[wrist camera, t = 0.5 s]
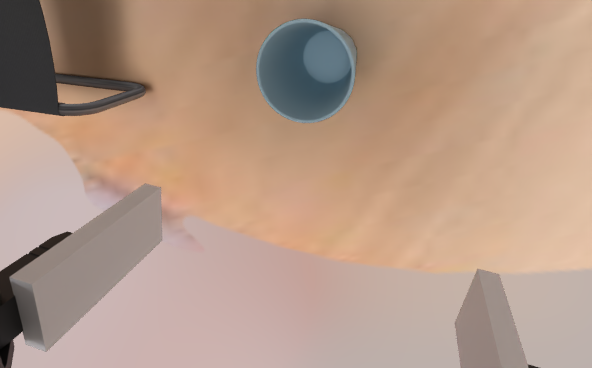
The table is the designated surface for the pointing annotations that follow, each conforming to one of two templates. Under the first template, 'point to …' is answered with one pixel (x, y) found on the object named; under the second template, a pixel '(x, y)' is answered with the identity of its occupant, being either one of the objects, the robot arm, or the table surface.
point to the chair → (43, 67)
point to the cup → (306, 70)
